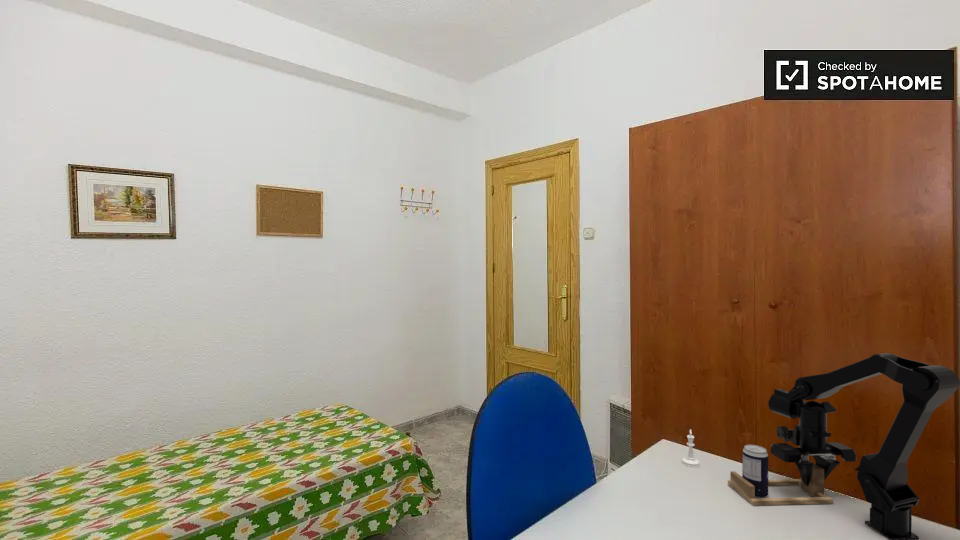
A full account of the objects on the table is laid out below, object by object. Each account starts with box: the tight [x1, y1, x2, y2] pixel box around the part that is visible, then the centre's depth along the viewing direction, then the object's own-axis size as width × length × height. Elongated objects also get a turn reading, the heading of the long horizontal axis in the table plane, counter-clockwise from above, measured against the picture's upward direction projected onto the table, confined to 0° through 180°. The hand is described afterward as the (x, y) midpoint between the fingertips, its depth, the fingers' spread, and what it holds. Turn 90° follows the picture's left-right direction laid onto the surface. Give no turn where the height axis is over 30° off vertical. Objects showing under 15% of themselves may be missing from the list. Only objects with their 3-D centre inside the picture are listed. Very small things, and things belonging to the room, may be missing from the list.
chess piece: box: [681, 429, 701, 468], centre depth 132 cm, size 5×5×10 cm
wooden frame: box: [727, 461, 835, 506], centre depth 114 cm, size 21×10×7 cm, turn 92°
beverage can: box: [741, 444, 769, 498], centre depth 113 cm, size 6×6×12 cm
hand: (812, 484), depth 114 cm, fingers closed on wooden frame, 3 cm apart
